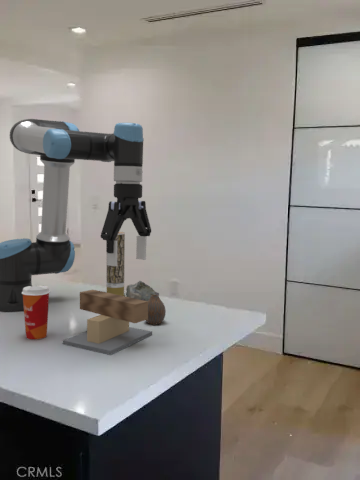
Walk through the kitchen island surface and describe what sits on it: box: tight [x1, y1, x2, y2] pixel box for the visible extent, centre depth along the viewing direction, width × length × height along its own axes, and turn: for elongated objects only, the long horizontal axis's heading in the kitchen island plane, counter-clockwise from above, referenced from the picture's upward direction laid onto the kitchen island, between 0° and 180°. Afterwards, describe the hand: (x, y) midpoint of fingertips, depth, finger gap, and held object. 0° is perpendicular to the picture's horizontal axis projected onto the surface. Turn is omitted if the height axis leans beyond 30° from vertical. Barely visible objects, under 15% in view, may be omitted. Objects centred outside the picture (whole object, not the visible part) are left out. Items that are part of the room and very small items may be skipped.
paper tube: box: [106, 231, 126, 296], centre depth 188 cm, size 7×7×25 cm
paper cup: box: [22, 285, 51, 341], centre depth 137 cm, size 8×8×14 cm
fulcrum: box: [62, 314, 153, 356], centre depth 136 cm, size 16×20×7 cm
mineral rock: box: [125, 280, 160, 301], centre depth 171 cm, size 13×11×10 cm
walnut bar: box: [79, 289, 148, 324], centre depth 136 cm, size 22×5×5 cm, turn 52°
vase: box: [145, 295, 167, 325], centre depth 153 cm, size 7×7×9 cm
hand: (127, 262), depth 131 cm, fingers open, 13 cm apart
